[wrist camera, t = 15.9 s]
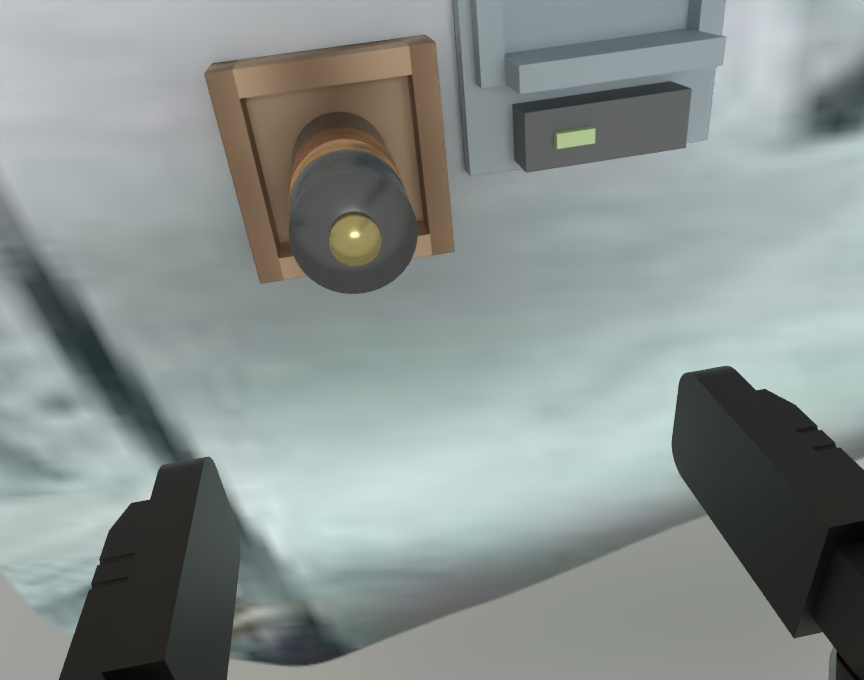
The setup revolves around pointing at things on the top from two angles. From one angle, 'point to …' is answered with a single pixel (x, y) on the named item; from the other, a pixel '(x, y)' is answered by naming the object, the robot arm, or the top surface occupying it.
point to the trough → (319, 94)
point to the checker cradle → (583, 79)
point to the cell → (348, 206)
